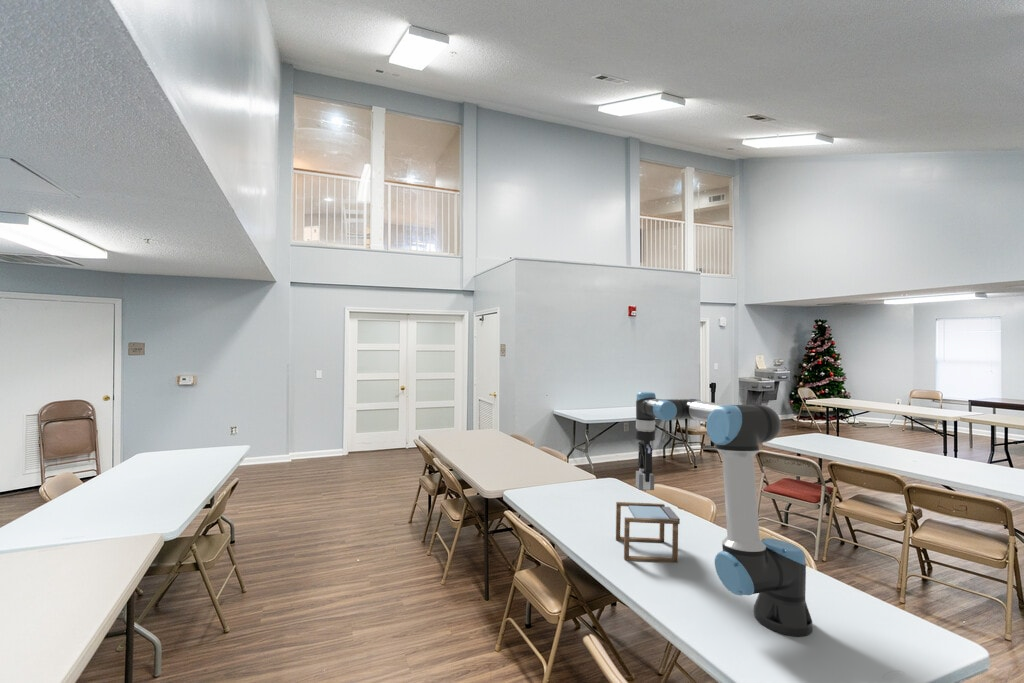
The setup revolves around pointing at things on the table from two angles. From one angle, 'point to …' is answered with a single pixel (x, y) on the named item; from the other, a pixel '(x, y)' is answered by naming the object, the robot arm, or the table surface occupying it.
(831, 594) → the table surface
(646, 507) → the plate
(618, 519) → the frame
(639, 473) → the gray cube
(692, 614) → the table surface
